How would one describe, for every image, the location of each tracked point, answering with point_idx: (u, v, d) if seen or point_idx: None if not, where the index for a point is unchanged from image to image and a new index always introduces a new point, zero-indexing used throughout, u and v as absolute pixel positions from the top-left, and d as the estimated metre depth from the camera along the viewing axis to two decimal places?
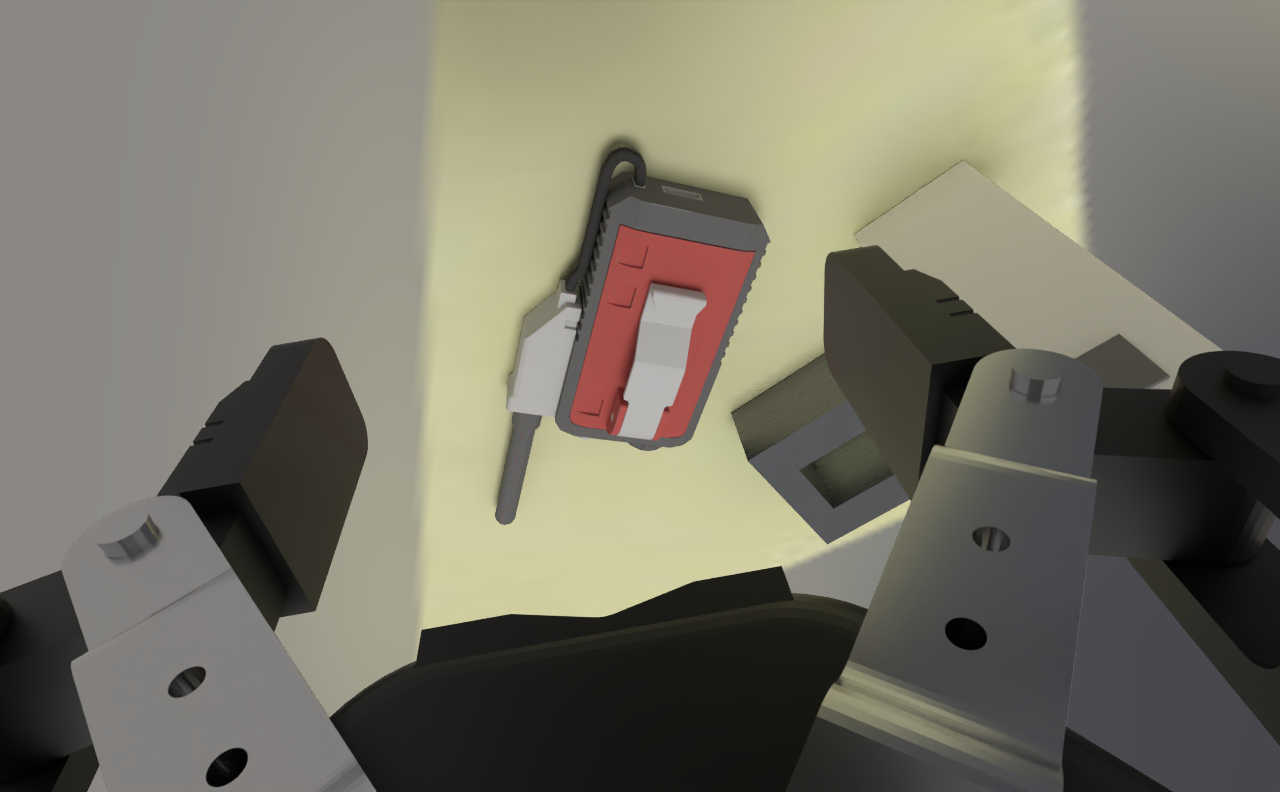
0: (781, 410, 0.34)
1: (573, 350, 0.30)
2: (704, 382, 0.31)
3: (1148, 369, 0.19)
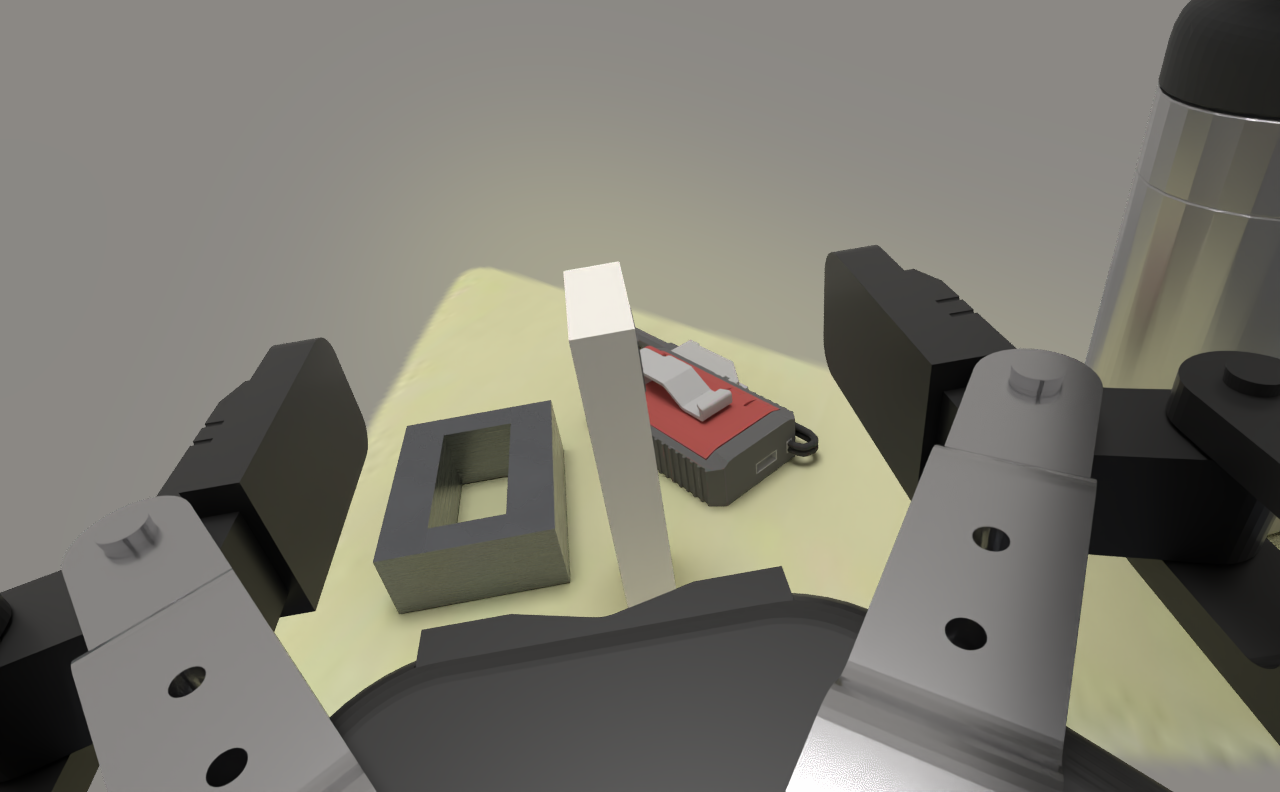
0: (558, 450, 0.39)
1: (708, 370, 0.42)
2: None
3: (639, 350, 0.24)
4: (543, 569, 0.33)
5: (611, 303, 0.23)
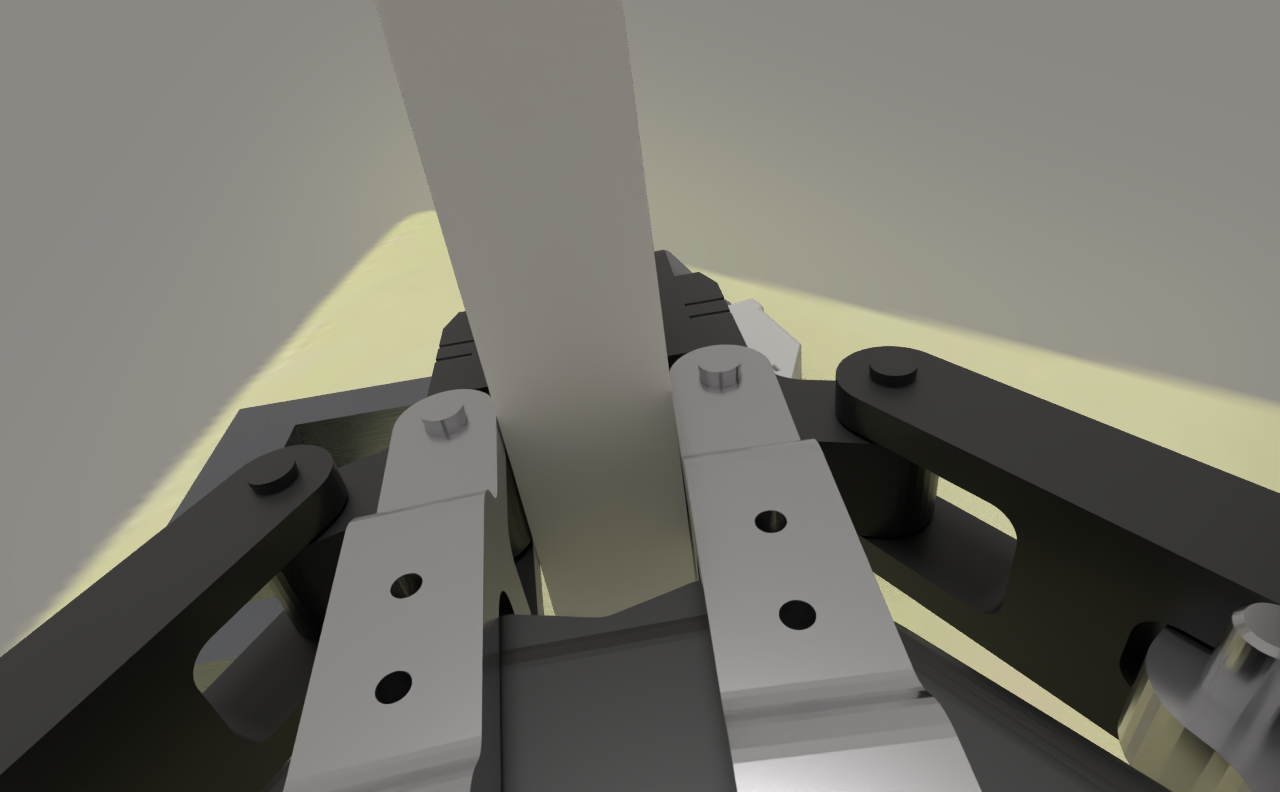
0: None
1: None
2: None
3: None
4: None
5: None
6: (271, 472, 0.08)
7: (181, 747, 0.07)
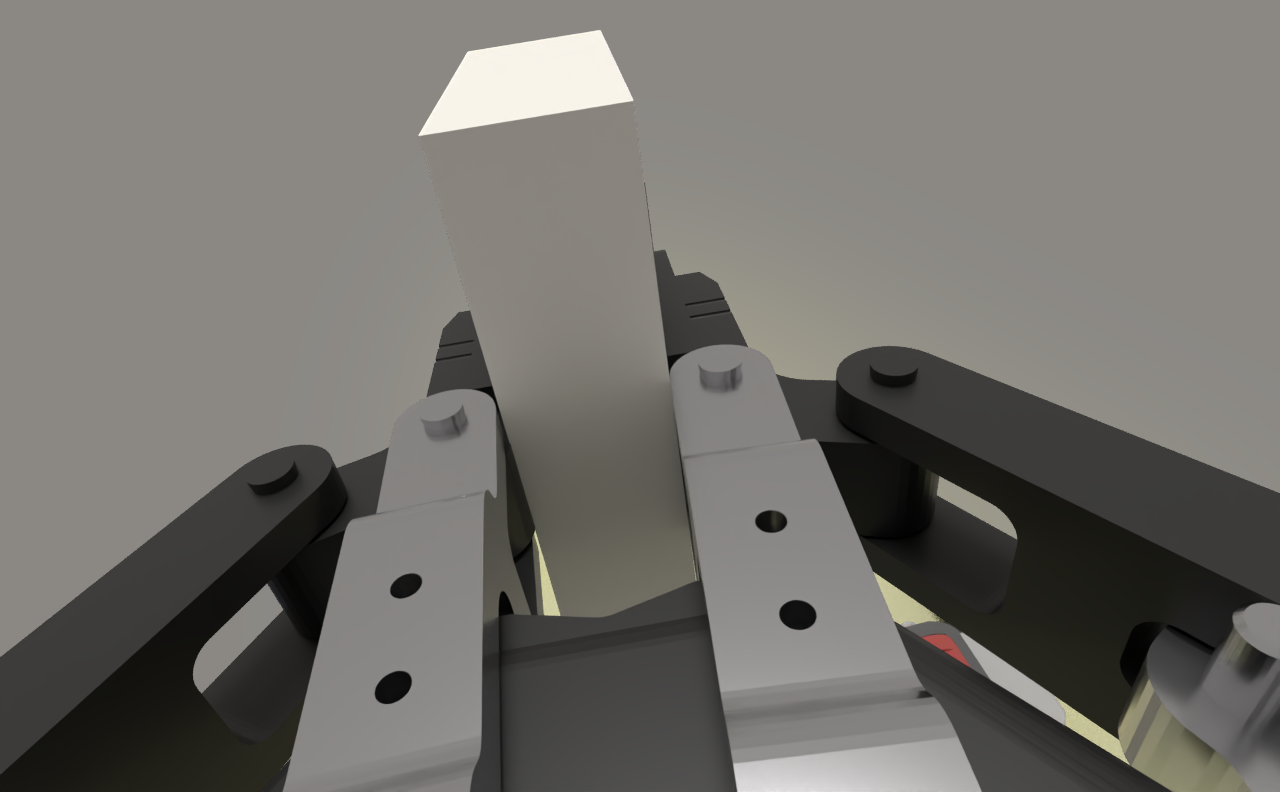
0: None
1: None
2: None
3: (647, 216, 0.09)
4: None
5: (570, 73, 0.08)
6: (270, 472, 0.08)
7: (180, 747, 0.07)
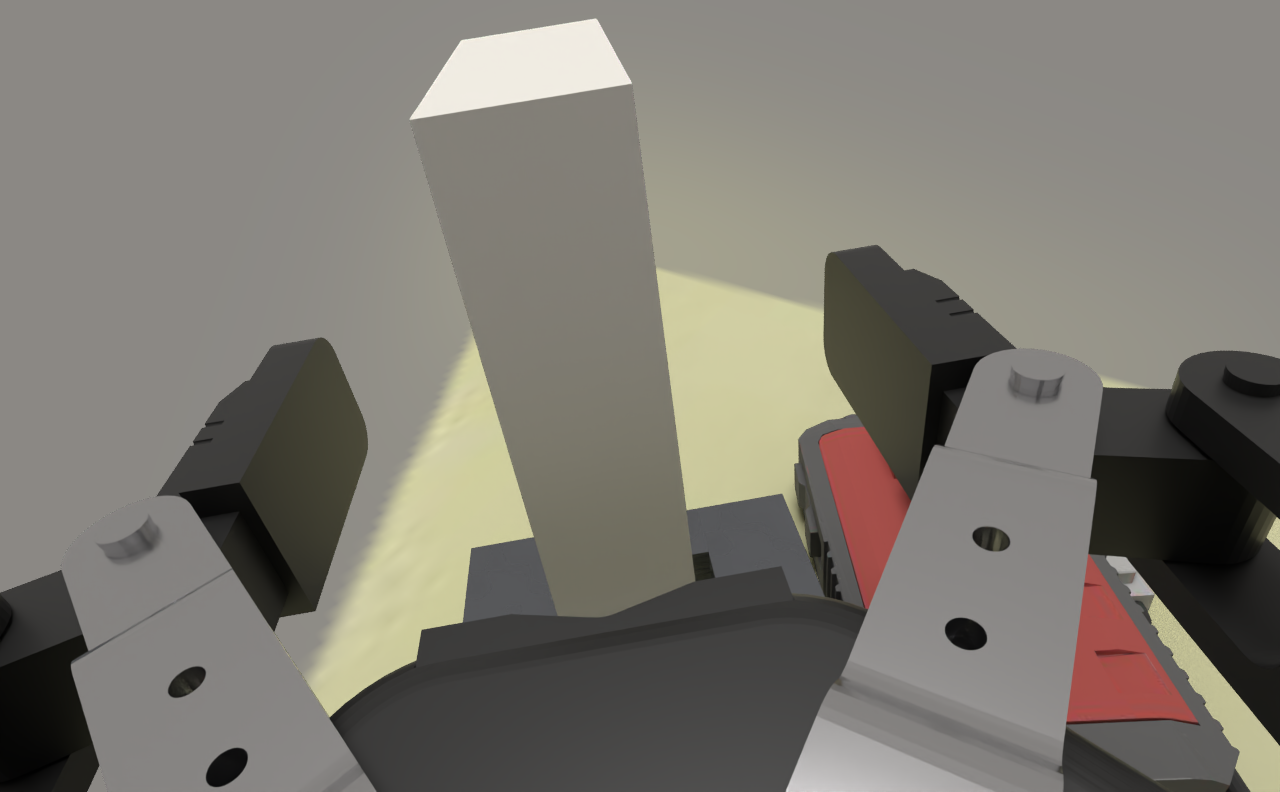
0: None
1: None
2: (837, 508, 0.19)
3: None
4: None
5: (566, 58, 0.08)
6: None
7: None
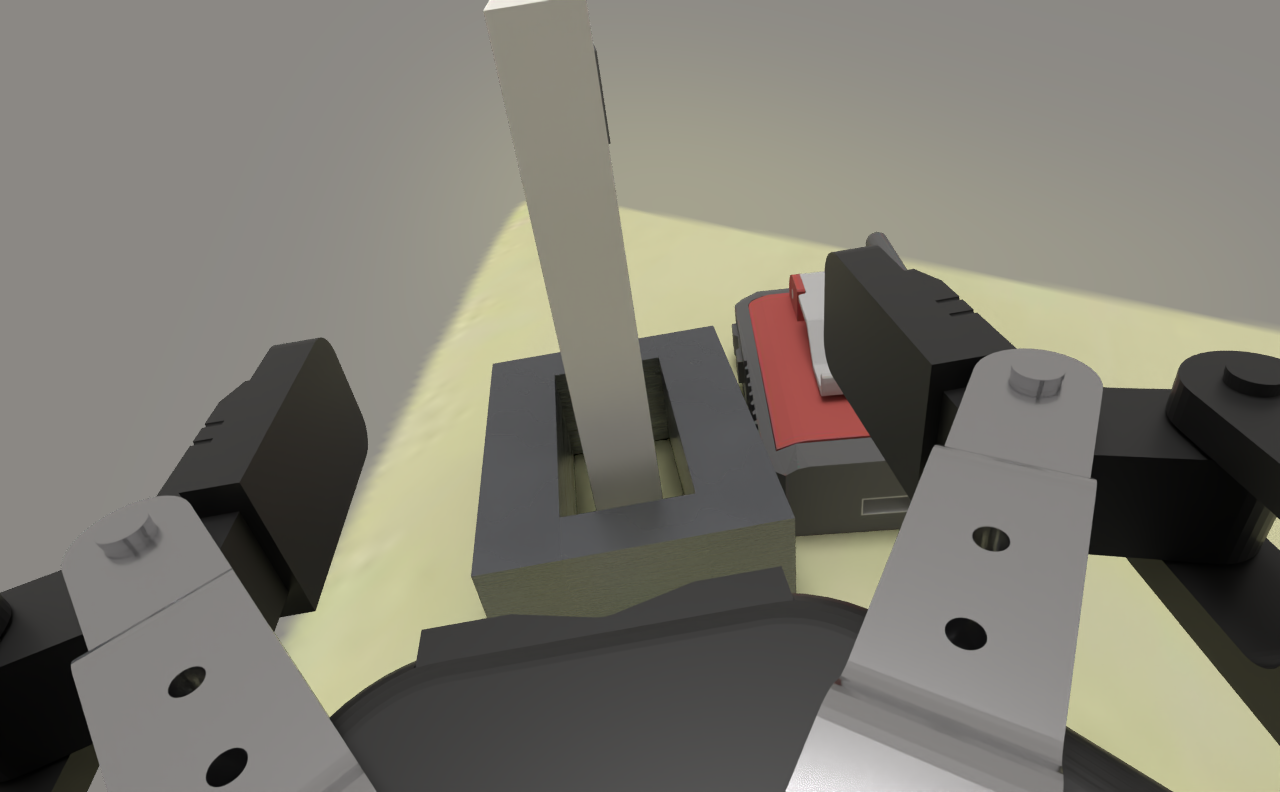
0: None
1: None
2: (755, 341, 0.27)
3: None
4: None
5: None
6: None
7: None
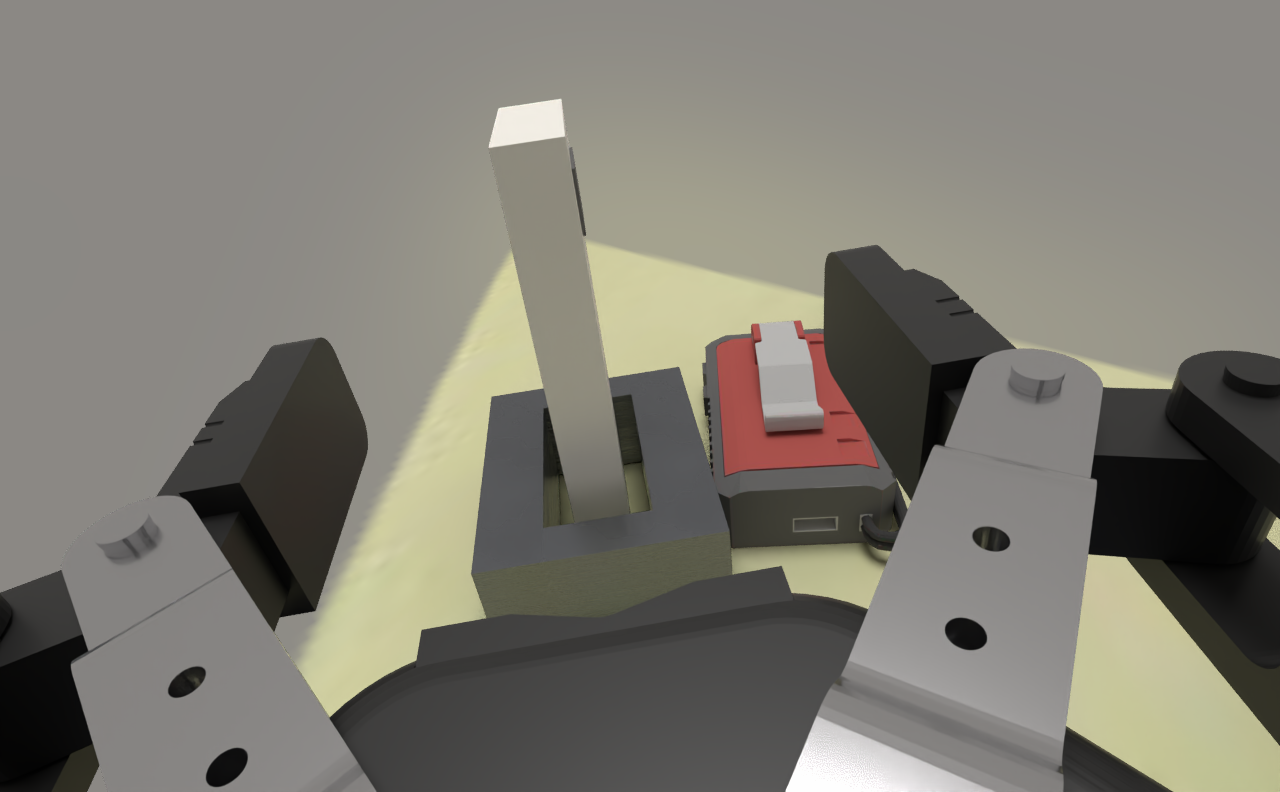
0: None
1: None
2: (718, 380, 0.31)
3: (577, 182, 0.21)
4: None
5: (544, 123, 0.20)
6: None
7: None
